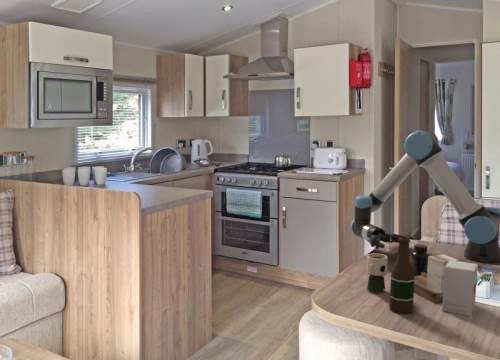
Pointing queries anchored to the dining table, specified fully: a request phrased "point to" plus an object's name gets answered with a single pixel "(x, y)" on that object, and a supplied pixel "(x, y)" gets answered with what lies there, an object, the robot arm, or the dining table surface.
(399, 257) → the beer bottle
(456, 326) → the dining table surface
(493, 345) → the dining table surface
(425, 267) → the supplement bottle
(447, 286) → the supplement box
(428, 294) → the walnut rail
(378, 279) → the character mug
